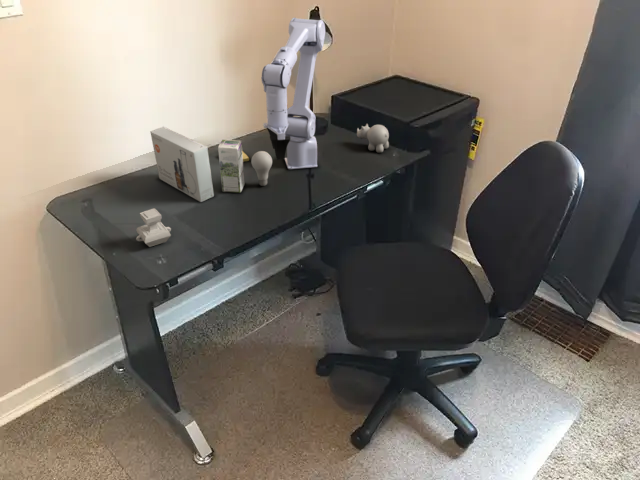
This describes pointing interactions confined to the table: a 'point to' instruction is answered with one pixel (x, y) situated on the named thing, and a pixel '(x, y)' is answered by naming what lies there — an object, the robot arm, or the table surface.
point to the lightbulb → (262, 166)
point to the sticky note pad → (245, 157)
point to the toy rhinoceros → (375, 137)
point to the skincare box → (183, 163)
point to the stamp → (152, 228)
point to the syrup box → (231, 165)
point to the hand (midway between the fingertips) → (278, 153)
